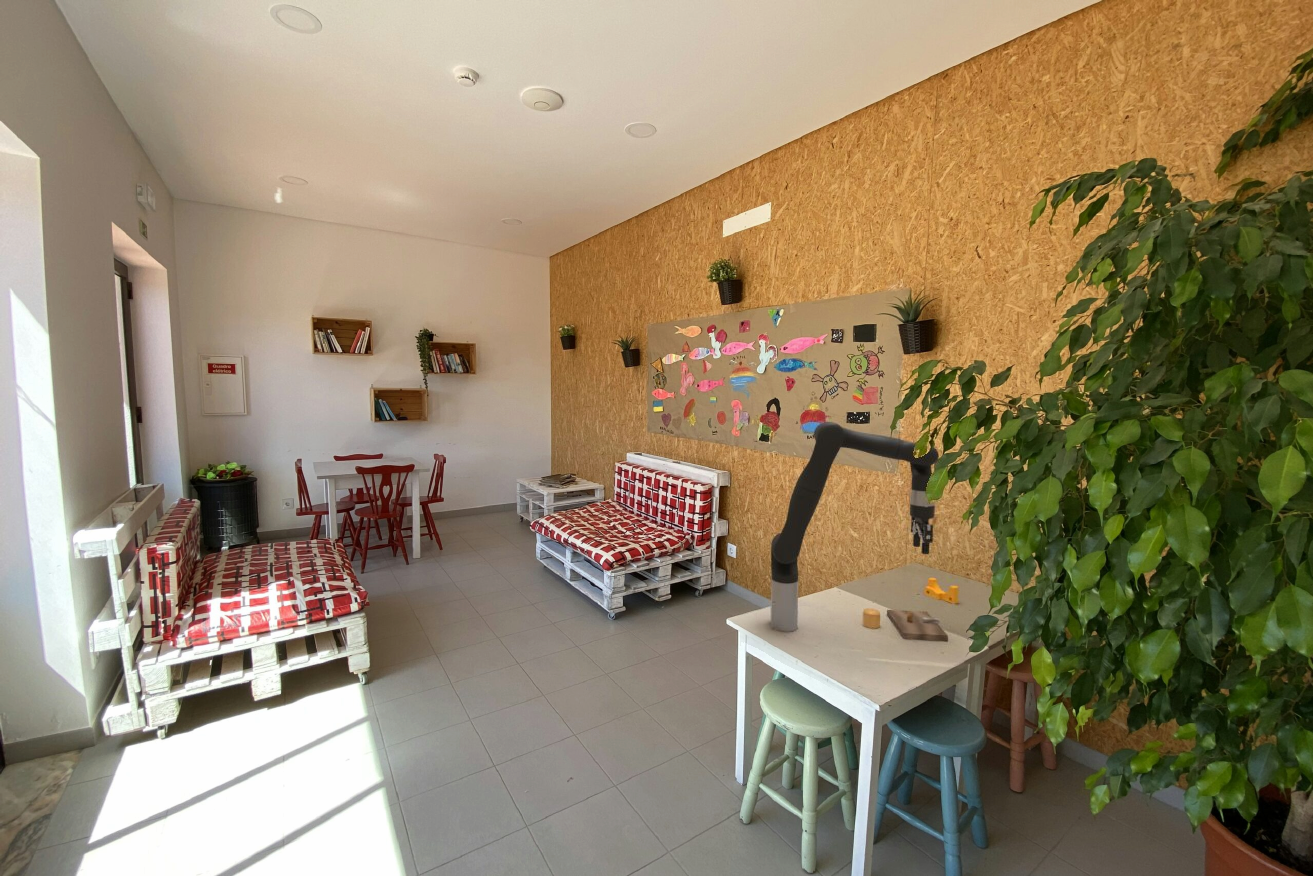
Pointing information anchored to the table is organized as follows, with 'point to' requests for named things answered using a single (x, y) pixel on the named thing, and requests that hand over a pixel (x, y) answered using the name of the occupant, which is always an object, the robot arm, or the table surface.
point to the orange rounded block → (871, 618)
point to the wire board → (917, 625)
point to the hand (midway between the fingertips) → (920, 550)
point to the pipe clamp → (941, 592)
